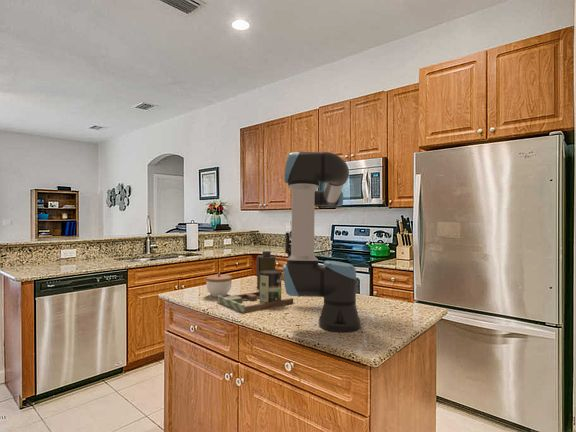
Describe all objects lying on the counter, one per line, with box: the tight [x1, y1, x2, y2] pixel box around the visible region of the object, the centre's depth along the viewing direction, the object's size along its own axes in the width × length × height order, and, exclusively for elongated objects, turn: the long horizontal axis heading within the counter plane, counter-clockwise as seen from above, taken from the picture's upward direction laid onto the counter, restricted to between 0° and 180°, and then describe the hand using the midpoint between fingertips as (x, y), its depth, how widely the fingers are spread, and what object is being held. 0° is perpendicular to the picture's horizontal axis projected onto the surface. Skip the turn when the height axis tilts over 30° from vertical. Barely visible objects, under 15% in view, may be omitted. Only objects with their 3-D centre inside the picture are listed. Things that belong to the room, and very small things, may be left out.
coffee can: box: [258, 269, 283, 304], centre depth 167 cm, size 10×10×14 cm
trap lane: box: [217, 291, 294, 314], centre depth 165 cm, size 22×27×3 cm
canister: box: [256, 250, 276, 290], centre depth 198 cm, size 11×10×20 cm
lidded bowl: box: [205, 272, 233, 298], centre depth 180 cm, size 13×13×11 cm
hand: (289, 268), depth 169 cm, fingers closed
